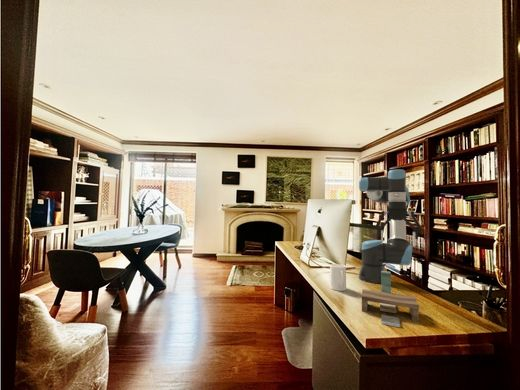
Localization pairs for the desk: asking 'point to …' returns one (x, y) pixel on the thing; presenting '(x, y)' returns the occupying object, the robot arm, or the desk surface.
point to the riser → (391, 301)
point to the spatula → (386, 288)
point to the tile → (390, 321)
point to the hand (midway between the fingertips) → (397, 244)
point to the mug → (338, 277)
